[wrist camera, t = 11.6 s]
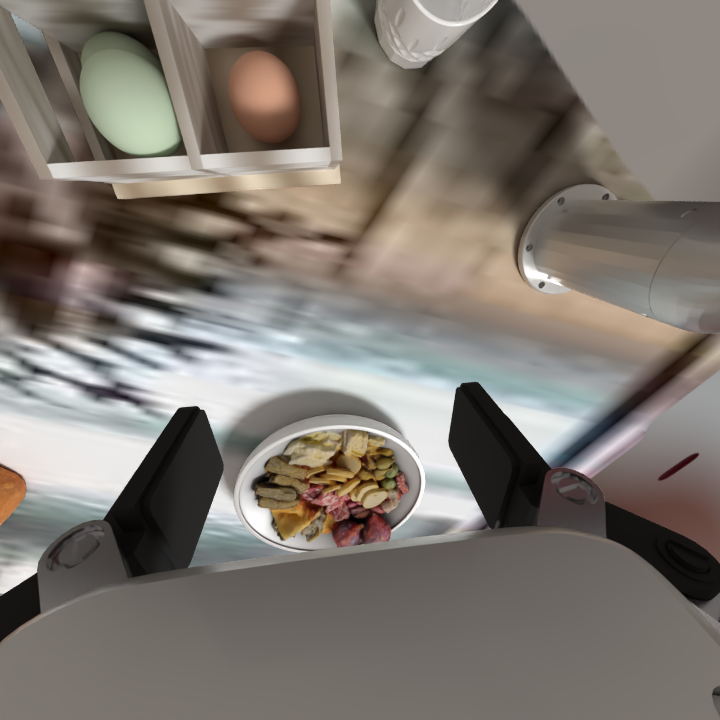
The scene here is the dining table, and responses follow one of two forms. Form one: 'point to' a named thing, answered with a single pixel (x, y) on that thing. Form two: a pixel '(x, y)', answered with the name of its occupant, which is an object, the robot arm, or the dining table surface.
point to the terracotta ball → (264, 97)
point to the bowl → (329, 484)
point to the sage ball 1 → (118, 47)
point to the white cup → (424, 27)
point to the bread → (10, 493)
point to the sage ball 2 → (130, 104)
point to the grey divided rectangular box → (181, 92)
